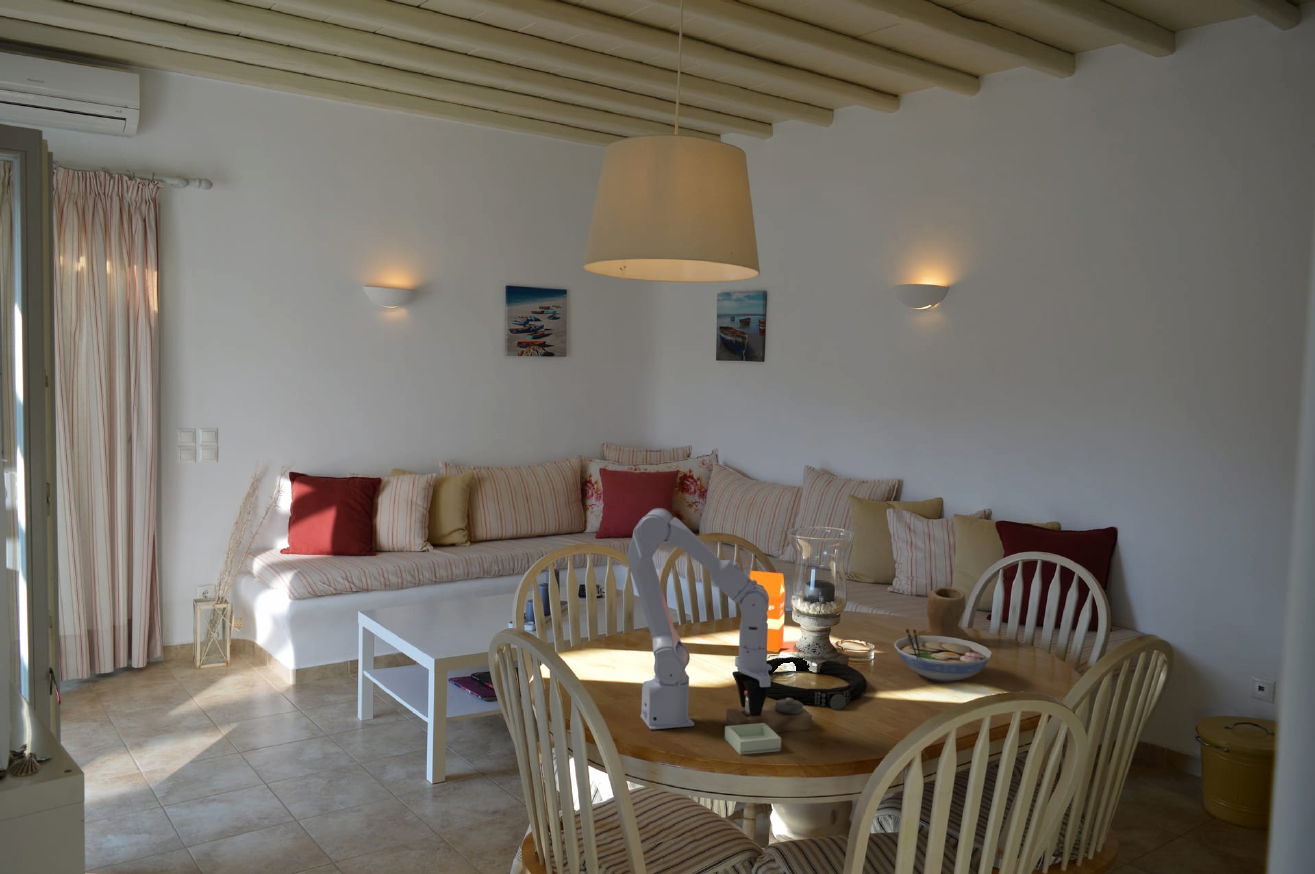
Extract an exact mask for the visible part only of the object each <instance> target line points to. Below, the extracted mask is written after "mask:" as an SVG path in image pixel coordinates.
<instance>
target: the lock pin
mask: <svg viewBox="0 0 1315 874" xmlns="http://www.w3.org/2000/svg"><path fill="white" fill-rule="evenodd" d="M744 695H745V696H746V701H745V707H744V708H745V716H746V717H753V716H751V715H750V711H749V701H748V694H747V691H746V689H745V690H744ZM754 716H757V715H754Z"/></svg>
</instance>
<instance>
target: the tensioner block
mask: <svg viewBox="0 0 1315 874" xmlns="http://www.w3.org/2000/svg"><path fill="white" fill-rule="evenodd" d="M725 716H726V717H725V719H726V720H725V724H726V726H733V725H745V724H757V723H765V724H766V725H767V726H768V727H769V728H771V729H772V730H773V731H774V732H775V733H784V732H785V731H786V732H795V731H806V730H807V729H809V730H812V722H813V721H812V717H813V715H812V714H811V713H810V712H809V711H807V710H806V709H805V708H804V704H802V703H801V702H799V701H796V700H793V699H792V698H786V699H783V700H778V699H777V701H776V702H775V705H765V706H764V705H763V709H762V712H761V715H757V716H753V717H746V716H745V707H738V708H736V707H735V708H728V709H726V715H725ZM786 732H785V733H786Z"/></svg>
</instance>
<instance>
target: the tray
mask: <svg viewBox="0 0 1315 874" xmlns="http://www.w3.org/2000/svg"><path fill="white" fill-rule="evenodd" d="M724 739H725V741H727V742H728V744H729V745H730V746H731V747H733V749H734V750H735V751H736V752H737V753H738V754H739V755H751V754H760V753H761V754H762V753H771V752H781V751H782V738H781V736H780V735H779V734H777V732H774V731H773V730H772V729H771V728H769V727H768V726H767V725H766V724H765V723H757V724H745V725H733V726H728V725H724ZM780 750H781V751H780Z"/></svg>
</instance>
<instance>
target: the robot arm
mask: <svg viewBox="0 0 1315 874" xmlns="http://www.w3.org/2000/svg"><path fill="white" fill-rule="evenodd" d="M632 531H633V532H632V537H631V540H630V543H629V548H628V551H627V556H626V557H627V563H628V566H629V568H630V571H631V575H632V578H633V581H634V584H635V585H634V586H635V588H636V591H637V595H638V597H639V601H640V603H641V607H642V610H643V613H644V616H645V620H646V623H647V627H648V629H649V632H650V636H651V639H652V652H653V656H654V664H653V665H654V666H653V671H654V675H653V679H650V680H645V681H644V682H643V683H642V686H641V687H642V689H641V713H640V718H641V719H642V720H643V722H644V723H645V724H646V726H647V727H648V728H649V729H650V730H661V729H672V728H684V727H685V728H686V727H694V726H695V722H694V721H693V720H692V719H691V718H690V717H689V699H690V698H689V697H690V696H689V693H690V692H689V691H690V689H689V688H690V676H689V675H688V674H687V671H686V668H687V666H688V665H689V663H690V659H691V658H690V657H691V656H690V655H691V654H690V652H689V650H688V648H687V646H685V645H684V644H683V642H682V640H681V638H680V635H679V633H678V632H677V631H676V629H675V627H674V626H675V625H674V623H673V621H672V617H671V614H670V610H669V607H668V604H667V601H666V598H665V595H664V591H663V588H662V585H661V581H660V579H659V574H658V572H657V568H656V566H655V563H654V560H653V557H654V555H655V553H656V552H657V550H658V548H659V547H660V545H661V544H662V543H663V542H665V541H667V542H666V543H665V546H666V547H673V548H674V547H675V548H680V549H682V550H684V552H686V553H687V554H688V556H691V557H692V558H693V559H694V560H695V561H696V562H698V563H699V564H700V565H701V566H702V567H704V568H705V569H706V570H707V571H709V573H710V580H711V581H710V582H712V583H713V585H715V586H716V587H717V588H718V589H719V590H721V592H723V593H724V594H725V595H726V596H727V597H728V598H730V600H732V602H734V603H737V604H738V608H739V610H740V613H741V615H740V622H739V634H738V635H739V636H738V637H739V640H738V642H739V643H738V656H735V659H734V661H735V662H734V666H735V667H736V669H737V671H736V670H735V671H733V672H732V677H733V679H734V681H735V684H736V687H737V690H738V696H739V701H740V706H741V708H745V701H746V696H745V695H744V690H745V689H746V691H747V694H748V701H749V711H750V715H751V716H754V715H761V712H762V709H763V706H764V705H765V701H766V699H767V697H768V696H767V694H768V692H769V691H770V689H771V688H772V682H771V681H772V680H771V679H772V677H771V675H769V674H768V670H772V666H770V665H769V664H767V660H768V651H767V638H768V623H767V620H768V615H767V612H768V609H769V605H768V604H769V595H768V593H767V591H766V590H765V589H764V587H763V586H762V585H760V584H757V581H756V580H755V579H754V580H753V581H752V580H751V579H750V576H748V575H747V574H746V573H745V572H743V571H742V570H741V569H740V568H741V564H739V563H738V562H737V561H735V562H734V563H733V561H732V560H729V559H725V560H724V559H721V558H719V557H718V556H717V555H716V554H715V553H714V552H713V551H712V550H711V549H710V548H709V547H708V546H707V545H706V544H705V543H704V542H703V541H702V540H701V539H700V538H699V537H698V536H696V534H695V533H694V532H693V531H692V530H691V529H689V527H687V526H686V525H685V524H684V523H683V522H682V521H681V520H680V519H679V518H677V517H676V516H674V517H673V515H672V514H671V512H670V511H668V510H667V509H665V508H662V507H661V508H660V507H658V508H653V509H650V510H649V512H648V513H647V514H646V515H644V516H643V517H642V518H641V519H640V520H639V522H638V523H637V524H636V526H635V527H634V529H633V530H632Z"/></svg>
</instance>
